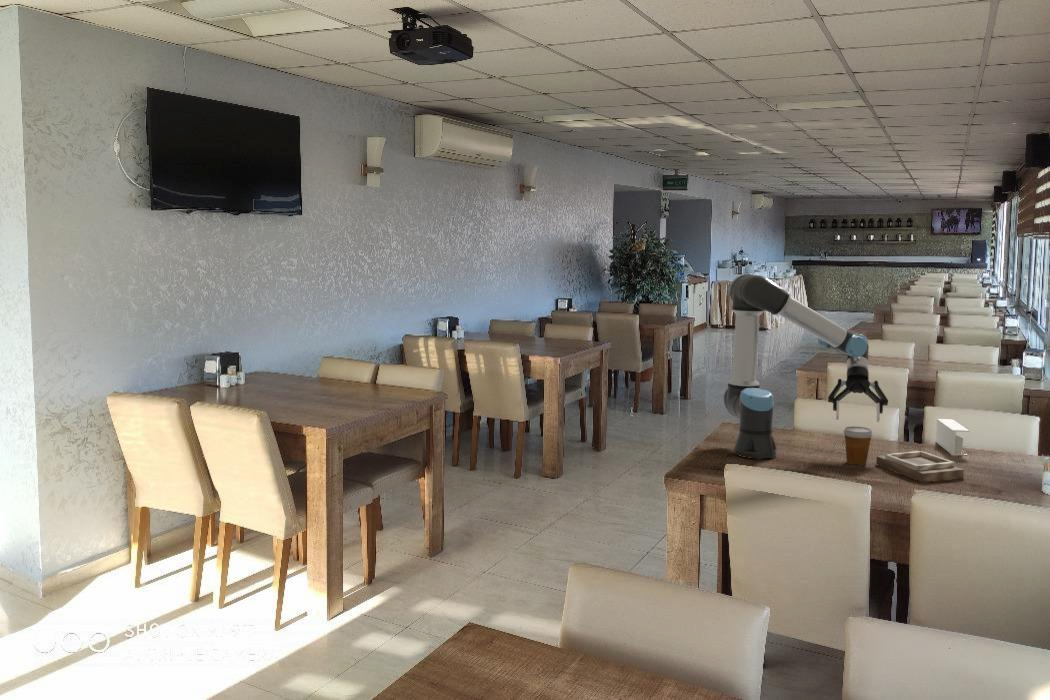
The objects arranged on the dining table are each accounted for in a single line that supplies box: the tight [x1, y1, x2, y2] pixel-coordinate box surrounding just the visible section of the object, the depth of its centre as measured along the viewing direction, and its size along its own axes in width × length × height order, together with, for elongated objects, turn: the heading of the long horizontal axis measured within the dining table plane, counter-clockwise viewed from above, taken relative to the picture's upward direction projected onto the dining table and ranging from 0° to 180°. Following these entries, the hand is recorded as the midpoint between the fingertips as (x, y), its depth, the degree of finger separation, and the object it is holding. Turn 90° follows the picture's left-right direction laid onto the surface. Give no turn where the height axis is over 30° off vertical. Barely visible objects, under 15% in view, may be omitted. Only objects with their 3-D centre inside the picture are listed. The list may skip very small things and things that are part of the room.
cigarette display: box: [935, 418, 970, 455], centre depth 306 cm, size 20×6×9 cm, turn 169°
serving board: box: [875, 450, 965, 483], centre depth 277 cm, size 16×22×4 cm
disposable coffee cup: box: [843, 425, 874, 466], centre depth 288 cm, size 10×10×12 cm
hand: (857, 419), depth 295 cm, fingers open, 13 cm apart
